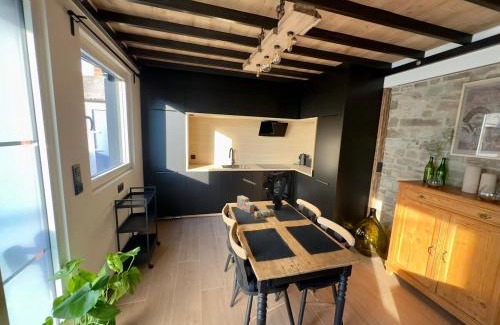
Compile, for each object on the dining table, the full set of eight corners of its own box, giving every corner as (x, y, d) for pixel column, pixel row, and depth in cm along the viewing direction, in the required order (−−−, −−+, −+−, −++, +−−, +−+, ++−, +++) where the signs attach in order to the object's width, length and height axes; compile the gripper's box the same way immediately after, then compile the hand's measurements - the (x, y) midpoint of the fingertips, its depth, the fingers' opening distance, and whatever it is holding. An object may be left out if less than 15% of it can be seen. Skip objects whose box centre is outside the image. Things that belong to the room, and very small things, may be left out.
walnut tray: (270, 212, 199) (270, 210, 199) (276, 217, 189) (276, 214, 189) (250, 215, 189) (251, 213, 189) (256, 220, 180) (256, 218, 179)
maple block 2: (270, 213, 195) (271, 208, 194) (273, 215, 191) (273, 210, 191) (266, 213, 193) (267, 209, 192) (269, 215, 189) (269, 211, 189)
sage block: (264, 214, 192) (265, 209, 191) (267, 216, 188) (267, 211, 187) (260, 214, 190) (260, 210, 189) (263, 216, 186) (263, 212, 185)
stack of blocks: (254, 213, 196) (255, 201, 194) (249, 214, 192) (250, 202, 190) (241, 206, 213) (242, 195, 211) (236, 207, 209) (237, 195, 207)
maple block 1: (258, 215, 189) (258, 210, 188) (260, 217, 185) (261, 212, 184) (254, 216, 187) (254, 211, 186) (256, 217, 183) (256, 213, 182)
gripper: (259, 184, 197) (258, 199, 199) (269, 190, 181) (268, 206, 183) (269, 183, 202) (268, 198, 204) (279, 189, 185) (278, 205, 188)
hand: (270, 202), depth 195 cm, fingers open, 9 cm apart
